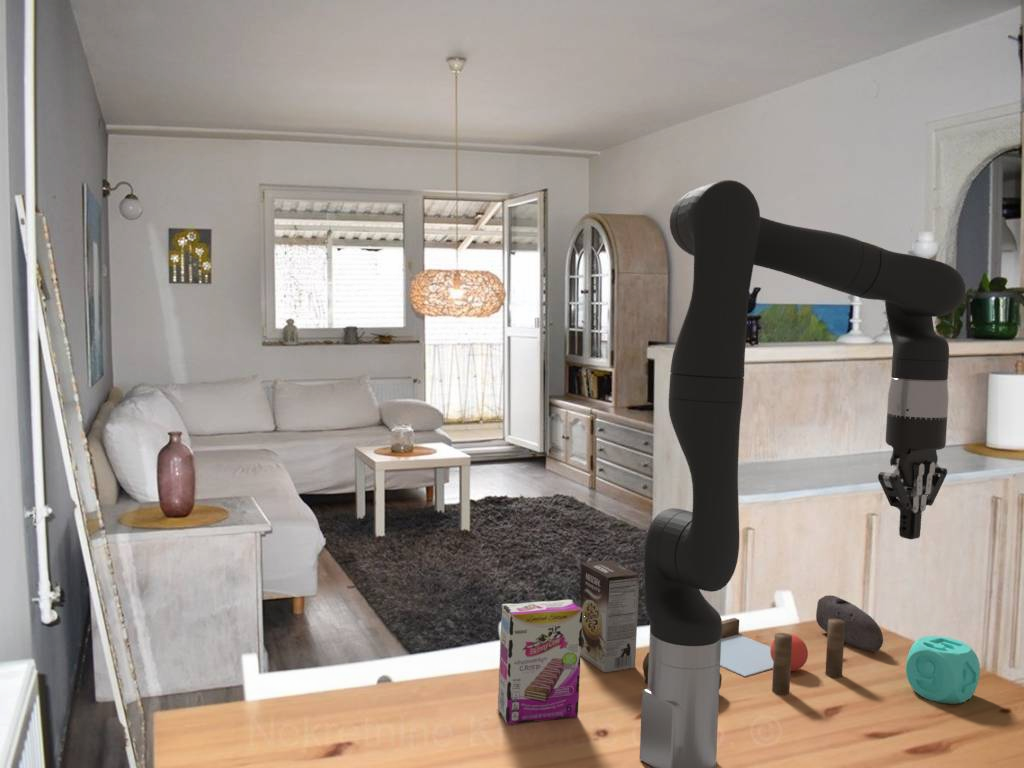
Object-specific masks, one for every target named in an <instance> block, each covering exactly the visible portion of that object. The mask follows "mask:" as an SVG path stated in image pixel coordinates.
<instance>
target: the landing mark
mask: <svg viewBox="0 0 1024 768" xmlns="http://www.w3.org/2000/svg"><path fill="white" fill-rule="evenodd" d="M770 648H771V646H770V645H767V644H764V643H762V642H759V641H757V640H754V639H751V638H750V637H746V636H744V635H742V634H739V633H737V634H733V635H729V636H725V637H722V638H721V656H720V667H721V666H722V667H721V668H723V667H724V668H723V669H726V670H728V671H731V672H733V673H734V672H735V674H737V675H739V674H740V675H739V676H741V675H742V677H743V676H744V677H743V678H745V677H748V676H749V677H750V676H752V675H755V674H759V673H762V672H767V671H769V670H773V660H772V658H771V654H770Z"/></svg>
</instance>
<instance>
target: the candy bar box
mask: <svg viewBox="0 0 1024 768" xmlns="http://www.w3.org/2000/svg"><path fill="white" fill-rule="evenodd" d="M500 610H501V611H500V613H501V614H500V617H501V618H500V619H501V620H500V637H499V638H500V641H499V642H500V643H499V644H500V645H499V666H498V668H499V669H498V670H499V671H498V695H497V696H498V697H497V699H498V700H497V712H498V713H499V715H500V716H501V717H502V719H503V721H504V723H506V725H515V724H516V725H517V724H524V723H533V722H541V721H542V722H543V721H550V720H558V719H566V718H569V719H570V718H576V717H577V718H578V715H579V701H580V700H579V699H580V675H581V633H582V611H583V610H582V609H581V608H580V605H578V604H577V603H575V602H574V600H572V599H560V600H559V599H558V600H557V599H556V600H544V601H531V602H530V601H527V602H512V603H502V604H501V609H500Z"/></svg>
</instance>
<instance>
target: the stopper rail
mask: <svg viewBox="0 0 1024 768" xmlns="http://www.w3.org/2000/svg"><path fill="white" fill-rule="evenodd" d="M739 633H740V618H739V619H738V618H736V617H733V618H732V617H731V618H729V619H724V620H722V635H721V638H725V637H730V636H734V635H738V634H739ZM724 636H725V637H724Z"/></svg>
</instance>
